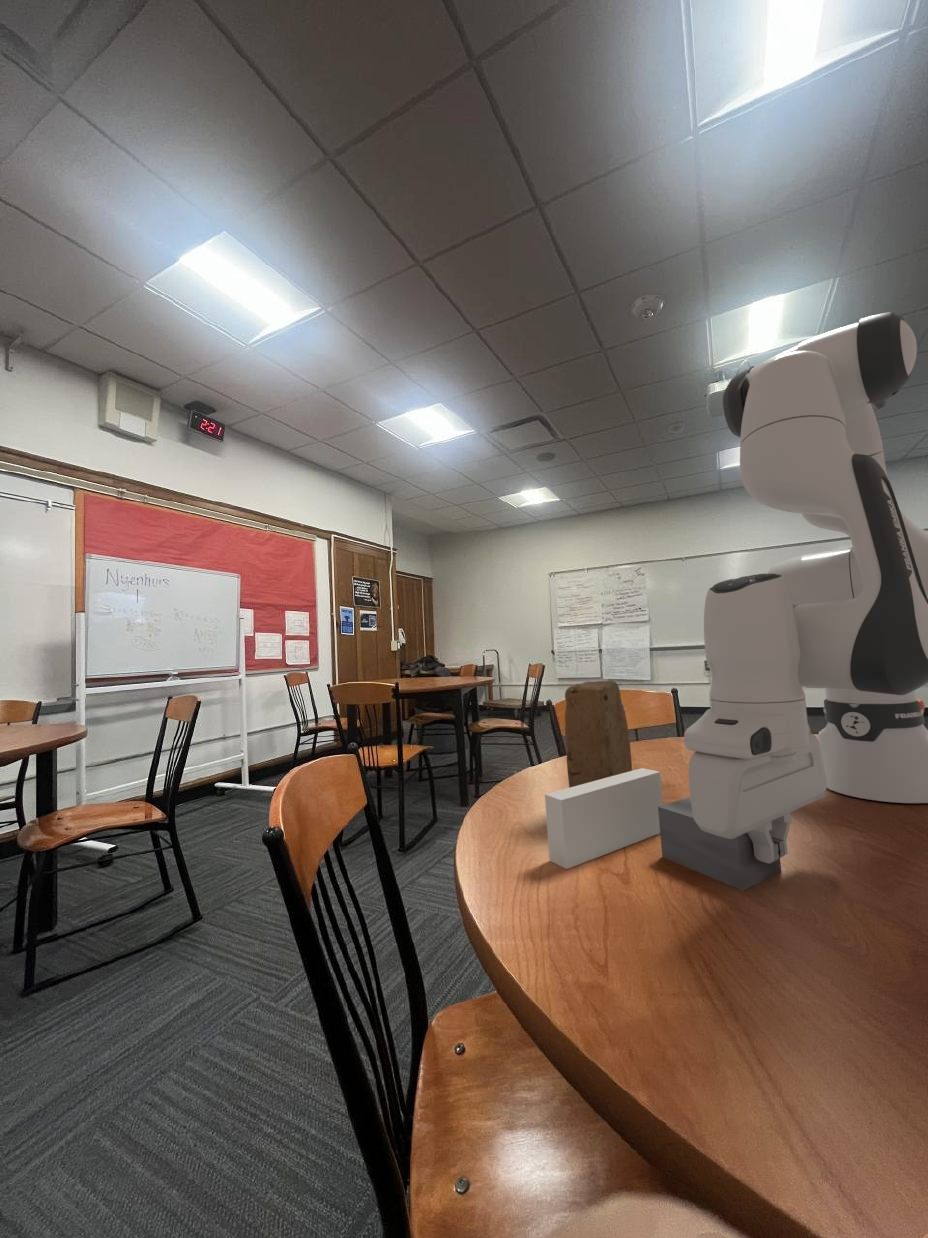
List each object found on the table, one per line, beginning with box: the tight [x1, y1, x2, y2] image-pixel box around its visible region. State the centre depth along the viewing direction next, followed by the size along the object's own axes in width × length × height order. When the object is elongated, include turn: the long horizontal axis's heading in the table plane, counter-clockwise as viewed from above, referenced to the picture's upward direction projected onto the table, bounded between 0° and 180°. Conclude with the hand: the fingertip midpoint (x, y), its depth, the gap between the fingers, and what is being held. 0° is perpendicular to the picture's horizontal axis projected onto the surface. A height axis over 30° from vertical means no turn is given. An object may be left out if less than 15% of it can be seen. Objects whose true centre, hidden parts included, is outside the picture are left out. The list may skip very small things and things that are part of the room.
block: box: [564, 680, 633, 788], centre depth 77 cm, size 11×8×20 cm
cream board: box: [544, 767, 664, 870], centre depth 63 cm, size 18×3×8 cm, turn 121°
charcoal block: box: [658, 796, 782, 891], centre depth 56 cm, size 7×10×6 cm
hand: (771, 857), depth 51 cm, fingers closed
